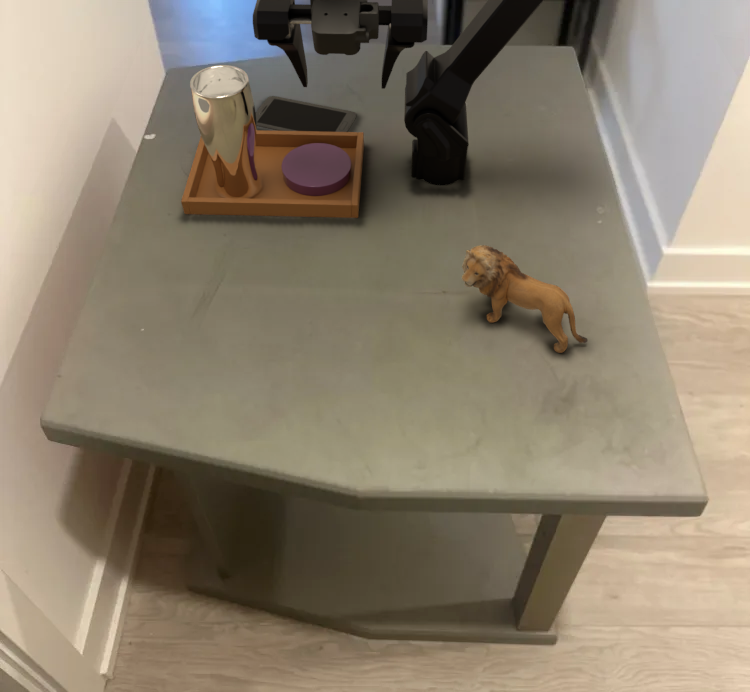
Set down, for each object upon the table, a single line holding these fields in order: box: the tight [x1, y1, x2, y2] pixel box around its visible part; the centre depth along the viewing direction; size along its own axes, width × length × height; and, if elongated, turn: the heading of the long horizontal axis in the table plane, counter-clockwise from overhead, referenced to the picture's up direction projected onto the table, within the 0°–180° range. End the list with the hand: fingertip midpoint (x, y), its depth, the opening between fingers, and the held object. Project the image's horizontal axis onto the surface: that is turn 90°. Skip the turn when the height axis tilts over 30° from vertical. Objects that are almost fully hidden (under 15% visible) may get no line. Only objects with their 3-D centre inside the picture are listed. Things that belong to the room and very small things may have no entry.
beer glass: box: [189, 64, 263, 199], centre depth 89 cm, size 7×7×15 cm
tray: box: [180, 129, 365, 219], centre depth 95 cm, size 22×15×3 cm
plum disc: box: [281, 143, 352, 196], centre depth 96 cm, size 9×9×2 cm
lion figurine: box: [461, 244, 588, 354], centre depth 78 cm, size 15×5×9 cm, turn 66°
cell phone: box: [255, 95, 358, 132], centre depth 104 cm, size 7×14×1 cm, turn 71°
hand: (344, 86), depth 87 cm, fingers open, 9 cm apart
